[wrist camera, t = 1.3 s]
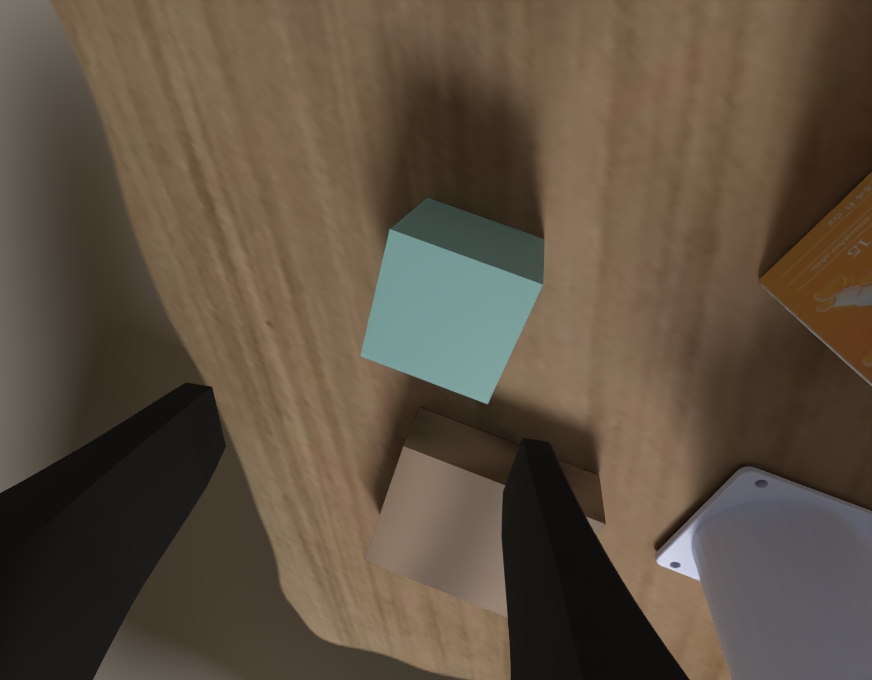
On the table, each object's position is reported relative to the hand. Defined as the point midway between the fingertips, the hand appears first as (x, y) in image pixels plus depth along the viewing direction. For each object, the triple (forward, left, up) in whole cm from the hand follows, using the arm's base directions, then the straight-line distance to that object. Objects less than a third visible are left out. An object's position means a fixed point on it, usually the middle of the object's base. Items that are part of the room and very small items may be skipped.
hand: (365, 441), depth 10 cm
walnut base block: (-6, +12, -10) cm, 17 cm away
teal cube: (-1, -1, -11) cm, 10 cm away
